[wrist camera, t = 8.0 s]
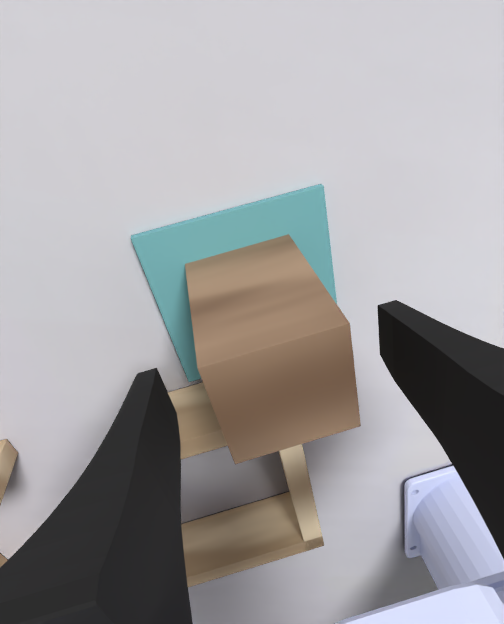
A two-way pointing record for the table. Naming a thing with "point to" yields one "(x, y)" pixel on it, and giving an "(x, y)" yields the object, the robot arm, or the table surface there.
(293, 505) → the open wooden frame
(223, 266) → the walnut block
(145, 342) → the table surface
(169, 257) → the mat
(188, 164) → the table surface
